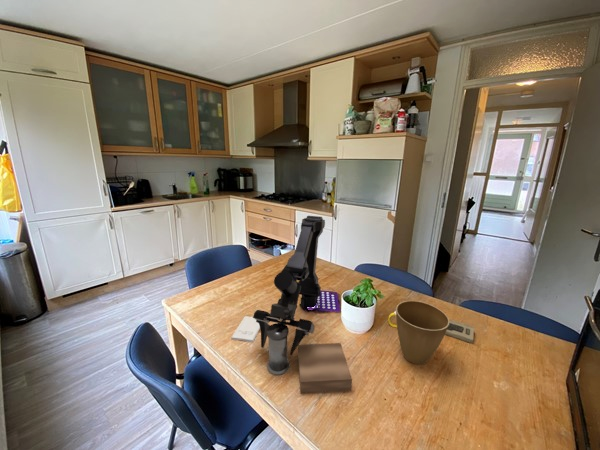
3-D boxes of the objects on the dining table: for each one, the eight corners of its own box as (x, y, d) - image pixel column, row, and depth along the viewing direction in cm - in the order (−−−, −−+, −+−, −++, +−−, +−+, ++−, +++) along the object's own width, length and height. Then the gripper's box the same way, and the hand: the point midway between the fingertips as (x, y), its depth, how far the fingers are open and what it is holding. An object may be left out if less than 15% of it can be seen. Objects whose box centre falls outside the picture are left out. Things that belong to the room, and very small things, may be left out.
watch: (403, 326, 97) (406, 313, 96) (403, 331, 95) (407, 317, 93) (387, 322, 99) (390, 309, 98) (387, 326, 97) (389, 313, 95)
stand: (297, 355, 82) (297, 344, 81) (339, 353, 83) (340, 342, 82) (300, 393, 69) (300, 381, 68) (351, 391, 70) (352, 379, 69)
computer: (423, 328, 97) (424, 321, 96) (426, 317, 103) (427, 310, 102) (472, 345, 88) (474, 337, 87) (472, 332, 94) (474, 325, 94)
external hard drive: (264, 321, 100) (253, 343, 88) (244, 319, 101) (231, 340, 89) (264, 318, 99) (253, 339, 88) (244, 315, 101) (230, 336, 89)
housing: (282, 354, 83) (282, 320, 79) (293, 368, 77) (293, 332, 74) (263, 363, 79) (262, 327, 75) (273, 379, 73) (273, 341, 70)
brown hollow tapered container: (381, 347, 86) (386, 306, 82) (414, 336, 92) (419, 296, 88) (416, 382, 73) (424, 335, 69) (452, 366, 78) (461, 321, 74)
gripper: (254, 286, 78) (237, 340, 71) (312, 297, 73) (300, 356, 65) (266, 296, 88) (252, 345, 80) (318, 306, 82) (308, 359, 75)
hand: (276, 351), depth 75 cm, fingers open, 9 cm apart
